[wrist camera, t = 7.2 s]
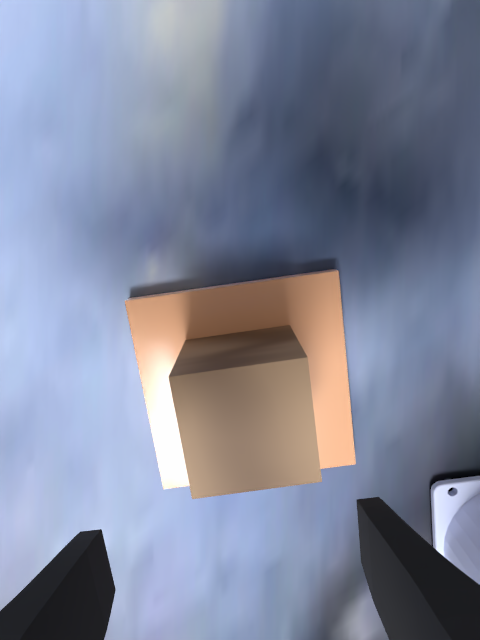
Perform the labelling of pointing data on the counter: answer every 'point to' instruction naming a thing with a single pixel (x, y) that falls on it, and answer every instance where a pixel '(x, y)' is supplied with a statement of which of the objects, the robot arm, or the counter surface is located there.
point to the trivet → (238, 316)
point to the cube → (245, 412)
